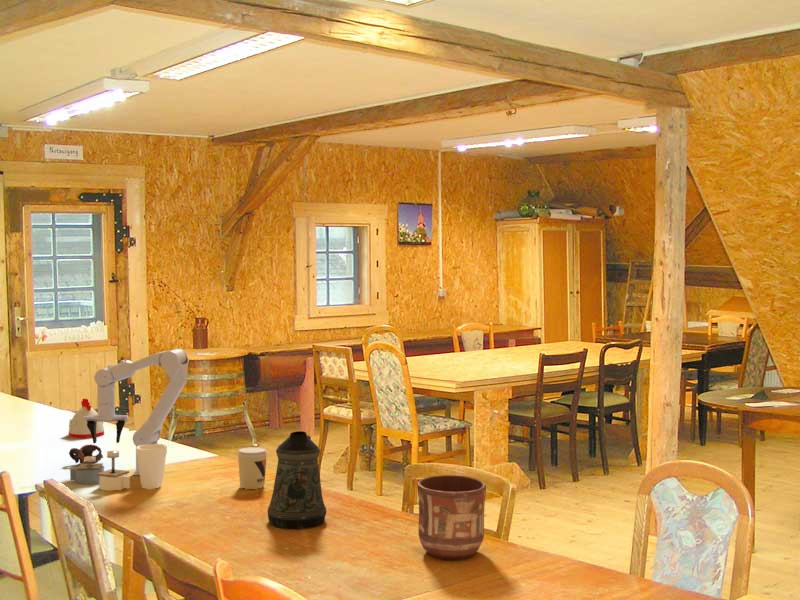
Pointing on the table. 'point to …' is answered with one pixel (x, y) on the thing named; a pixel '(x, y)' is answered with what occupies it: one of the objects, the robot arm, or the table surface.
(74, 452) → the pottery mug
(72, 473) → the gray faceted block
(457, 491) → the pottery
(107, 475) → the cream boxy piece
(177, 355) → the robot arm
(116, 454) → the cream pot plunger
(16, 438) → the table surface
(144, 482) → the foam cup
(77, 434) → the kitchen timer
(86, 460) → the metal bulb with stem
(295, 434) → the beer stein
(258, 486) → the coffee cup
